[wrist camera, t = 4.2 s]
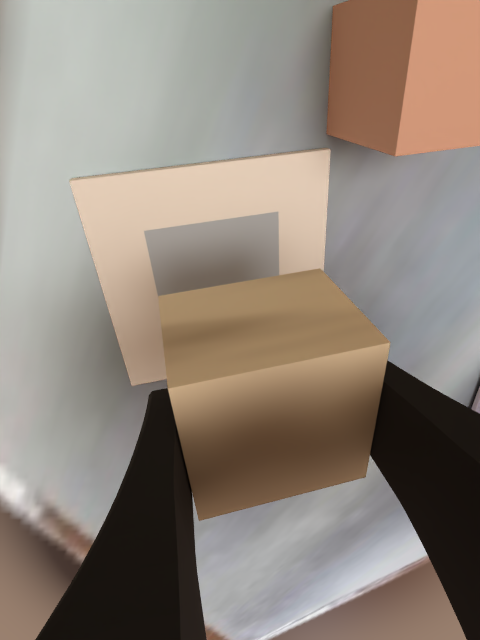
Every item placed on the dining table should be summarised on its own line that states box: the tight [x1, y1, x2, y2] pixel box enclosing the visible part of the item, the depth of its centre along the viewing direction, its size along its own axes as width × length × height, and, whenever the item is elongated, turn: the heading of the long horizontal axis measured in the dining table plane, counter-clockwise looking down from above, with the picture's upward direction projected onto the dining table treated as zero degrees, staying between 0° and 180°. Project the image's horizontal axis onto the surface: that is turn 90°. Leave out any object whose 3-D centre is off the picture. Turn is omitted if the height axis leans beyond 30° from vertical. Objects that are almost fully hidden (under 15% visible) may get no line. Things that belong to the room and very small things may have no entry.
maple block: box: [158, 268, 390, 521], centre depth 11 cm, size 5×5×4 cm
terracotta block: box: [327, 0, 480, 156], centre depth 13 cm, size 4×4×5 cm
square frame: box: [69, 148, 331, 386], centre depth 17 cm, size 10×10×1 cm
